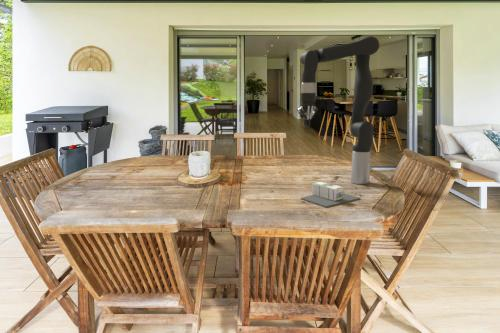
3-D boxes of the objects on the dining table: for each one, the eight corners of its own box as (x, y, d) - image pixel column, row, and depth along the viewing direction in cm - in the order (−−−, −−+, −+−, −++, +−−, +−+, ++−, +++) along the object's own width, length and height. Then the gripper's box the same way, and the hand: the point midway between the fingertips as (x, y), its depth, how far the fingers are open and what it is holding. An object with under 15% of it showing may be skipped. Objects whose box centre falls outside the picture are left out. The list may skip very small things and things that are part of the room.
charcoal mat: (334, 191, 189) (334, 190, 188) (360, 199, 176) (360, 197, 176) (300, 199, 176) (300, 197, 176) (326, 207, 163) (326, 206, 163)
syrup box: (311, 194, 181) (335, 201, 170) (311, 182, 180) (335, 189, 169) (320, 192, 185) (343, 199, 173) (320, 180, 183) (344, 186, 172)
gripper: (312, 91, 198) (311, 125, 201) (293, 92, 190) (292, 126, 194) (323, 91, 192) (322, 126, 195) (303, 92, 184) (302, 128, 188)
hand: (307, 126), depth 194 cm, fingers closed
